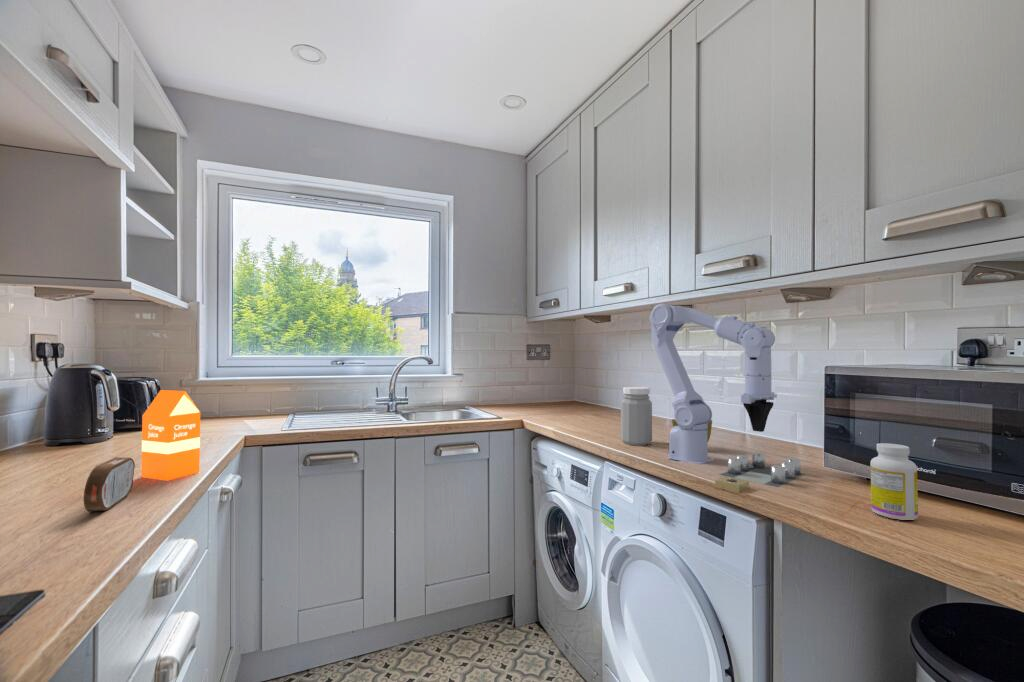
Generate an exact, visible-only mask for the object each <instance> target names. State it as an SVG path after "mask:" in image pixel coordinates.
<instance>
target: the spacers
mask: <svg viewBox="0 0 1024 682" xmlns="http://www.w3.org/2000/svg"><path fill="white" fill-rule="evenodd" d="M751 458H752V463H749V456H748V455H744V454H736V455H735V457H734V456H733V457H732V456H731V457H727V472H728V473H729V474H733V475H740V474H741V471H742V472H747V471H748V469H754V467H755V468H765V466H766V453H764V452H761V451H760V452H759V451H758V452H757V451H752V457H751ZM751 464H753V465H751ZM770 467H771V482H772V483H776V484H784V485H785V479H794V480H796V479H795V475H800V474H801V473H802V471H801V459H800V458H797V457H786V460H785V461H783V460H782V461H780V465H779V464H778V465H776V464H775V465H774V464H772V465H771V466H770Z"/></svg>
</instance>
